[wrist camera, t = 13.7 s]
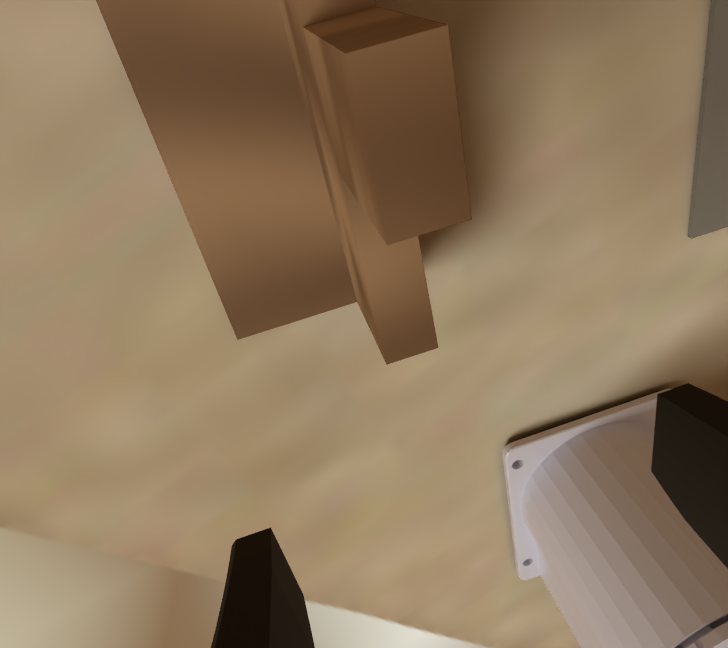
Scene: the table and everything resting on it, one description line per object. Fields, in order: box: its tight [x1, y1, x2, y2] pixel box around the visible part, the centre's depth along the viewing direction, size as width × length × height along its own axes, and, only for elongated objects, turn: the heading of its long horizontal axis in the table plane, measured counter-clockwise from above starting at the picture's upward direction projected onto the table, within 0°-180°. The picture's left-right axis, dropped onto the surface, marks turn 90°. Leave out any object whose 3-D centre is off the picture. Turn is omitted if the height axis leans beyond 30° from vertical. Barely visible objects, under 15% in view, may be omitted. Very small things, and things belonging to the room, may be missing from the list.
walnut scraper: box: [96, 0, 472, 364], centre depth 12 cm, size 14×6×8 cm, turn 12°
